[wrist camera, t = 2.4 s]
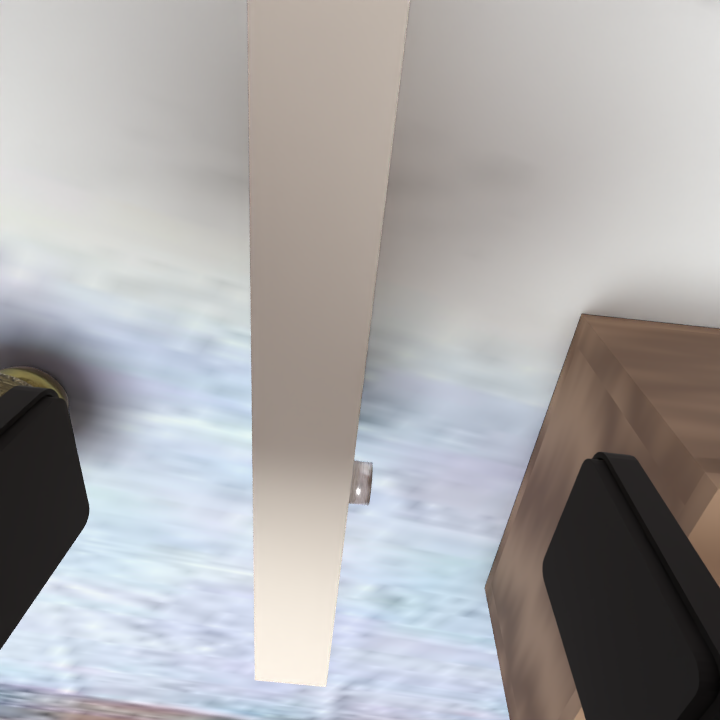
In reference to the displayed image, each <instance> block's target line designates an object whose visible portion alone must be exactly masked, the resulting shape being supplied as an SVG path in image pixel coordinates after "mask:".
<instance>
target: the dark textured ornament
mask: <svg viewBox="0 0 720 720" xmlns="http://www.w3.org/2000/svg"><path fill="white" fill-rule="evenodd" d="M19 385H23V386H32V387H41V388H49V389H53V390H55V391H56V393H57V394H58V396H59V398H62V399H64V400H65V401H66V404H67V407H68V410H69V400H68V396H67V394H66V392H65V390H64V388H63V387H62V386H61V384H60V383H59V382H58V381H57V380H56V379H54V378H53V377H52V376H51V375H49V374H47V373H46V372H44V371H41V370H39V369H36V368H33V367H28V366H14V367H8V368H5V369H1V370H0V397H1V396H2V395H4V394H5V393H6V392H7V391H8V390H10V389H11V388H13V387H15V386H19Z"/></svg>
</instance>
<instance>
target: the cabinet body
mask: <svg viewBox="0 0 720 720" xmlns="http://www.w3.org/2000/svg"><path fill="white" fill-rule="evenodd" d="M597 452H608V453H617V454H626V455H632V456H634V457H635V458H636V459H637V460H638V461H639V463H640V465H641V466H642V468H643V469H644V471H645V472H646V474H647V475H648V477H649V479H650V480H651V482H652V483H653V485H654V486H655V488H656V489H657V491H658V493H659V494H660V496H661V497H662V499H663V500H664V502H665V503H666V505H667V507H668V508H669V510H670V511H671V513H672V514H673V516H674V517H675V519H676V521H677V522H678V524H679V525H680V527H681V528H682V530H683V532H684V533H685V535H686V536H687V538H688V539H689V541H690V542H691V544H692V546H693V547H694V549H695V550H696V552H697V553H698V555H699V556H700V558H701V560H702V561H703V563H704V564H705V566H706V567H707V569H708V570H709V572H710V574H711V575H712V577H713V578H714V580H715V581H716V583H717V584H718V586H719V588H720V329H716V328H707V327H697V326H688V325H679V324H670V323H660V322H651V321H642V320H633V319H623V318H614V317H605V316H596V315H586V314H581V317H580V320H579V323H578V326H577V328H576V331H575V334H574V337H573V340H572V343H571V345H570V348H569V351H568V354H567V357H566V360H565V362H564V365H563V368H562V371H561V374H560V376H559V379H558V382H557V385H556V388H555V391H554V393H553V396H552V399H551V402H550V405H549V408H548V410H547V413H546V416H545V419H544V422H543V424H542V427H541V430H540V433H539V436H538V439H537V441H536V444H535V447H534V450H533V453H532V456H531V458H530V461H529V464H528V467H527V470H526V472H525V475H524V478H523V481H522V484H521V487H520V489H519V492H518V495H517V498H516V501H515V504H514V506H513V509H512V512H511V515H510V518H509V520H508V523H507V526H506V529H505V532H504V535H503V537H502V540H501V543H500V546H499V549H498V552H497V554H496V557H495V560H494V563H493V566H492V568H491V571H490V574H489V577H488V580H487V583H486V585H485V592H486V597H487V602H488V608H489V613H490V618H491V623H492V628H493V634H494V639H495V644H496V649H497V655H498V660H499V665H500V670H501V675H502V681H503V686H504V691H505V696H506V702H507V707H508V712H509V717H510V720H586V719H585V716H584V712H583V709H582V706H581V702H580V699H579V696H578V693H577V689H576V686H575V683H574V679H573V676H572V673H571V669H570V666H569V663H568V659H567V656H566V653H565V649H564V646H563V643H562V639H561V636H560V633H559V630H558V626H557V623H556V620H555V616H554V613H553V610H552V606H551V603H550V600H549V596H548V593H547V590H546V586H545V583H544V579H543V573H542V565H543V560H544V557H545V554H546V552H547V549H548V547H549V544H550V542H551V539H552V537H553V534H554V532H555V530H556V527H557V525H558V522H559V520H560V517H561V515H562V512H563V510H564V507H565V505H566V502H567V500H568V497H569V495H570V493H571V490H572V488H573V485H574V483H575V480H576V478H577V475H578V473H579V470H580V468H581V465H582V463H583V462H584V460H585V459H588V458H589V459H592V458H593V456H594V455H595V454H596V453H597Z"/></svg>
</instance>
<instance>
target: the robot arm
mask: <svg viewBox="0 0 720 720" xmlns="http://www.w3.org/2000/svg"><path fill="white" fill-rule="evenodd" d="M88 516H89V503H88V499H87V494H86V490H85V485H84V480H83V476H82V471H81V467H80V462H79V457H78V453H77V448H76V444H75V439H74V434H73V430H72V425H71V421H70V416H69V411H68V407H67V404H66V401H65V400H64V399H62V398H59V396H58V394H57V393H56V391H55V390H53V389H49V388H41V387H32V386H23V385H19V386H15V387H13V388H11V389H10V390H8V391H7V392H6V393H5V394H4V395H2V396H1V397H0V649H1V648H2V647H3V645H4V644H5V642H6V641H7V639H8V638H9V636H10V635H11V633H12V632H13V630H14V629H15V628H16V626H17V625H18V623H19V622H20V620H21V619H22V617H23V616H24V614H25V613H26V612H27V610H28V609H29V607H30V606H31V604H32V603H33V601H34V600H35V598H36V597H37V595H38V594H39V593H40V591H41V590H42V588H43V587H44V585H45V584H46V582H47V581H48V579H49V578H50V576H51V575H52V574H53V572H54V571H55V569H56V568H57V566H58V565H59V563H60V562H61V560H62V559H63V557H64V556H65V555H66V553H67V552H68V550H69V549H70V547H71V546H72V544H73V543H74V541H75V540H76V538H77V537H78V536H79V534H80V533H81V531H82V530H83V528H84V526H85V525H86V522H87V520H88ZM542 573H543V579H544V583H545V586H546V590H547V593H548V596H549V600H550V603H551V606H552V610H553V613H554V616H555V620H556V623H557V626H558V630H559V633H560V636H561V639H562V643H563V646H564V649H565V653H566V656H567V659H568V663H569V666H570V669H571V673H572V676H573V679H574V683H575V686H576V689H577V693H578V696H579V699H580V702H581V706H582V709H583V712H584V716H585V719H586V720H720V588H719V586H718V584H717V583H716V581H715V580H714V578H713V577H712V575H711V574H710V572H709V570H708V569H707V567H706V566H705V564H704V563H703V561H702V560H701V558H700V556H699V555H698V553H697V552H696V550H695V549H694V547H693V546H692V544H691V542H690V541H689V539H688V538H687V536H686V535H685V533H684V532H683V530H682V528H681V527H680V525H679V524H678V522H677V521H676V519H675V517H674V516H673V514H672V513H671V511H670V510H669V508H668V507H667V505H666V503H665V502H664V500H663V499H662V497H661V496H660V494H659V493H658V491H657V489H656V488H655V486H654V485H653V483H652V482H651V480H650V479H649V477H648V475H647V474H646V472H645V471H644V469H643V468H642V466H641V465H640V463H639V461H638V460H637V459H636V458H635V457H634V456H632V455H626V454H617V453H608V452H597V453H596V454H595V455H594V456H593V458H592V459H589V458H588V459H585V460H584V462H583V463H582V465H581V468H580V470H579V473H578V475H577V478H576V480H575V483H574V485H573V488H572V490H571V493H570V495H569V497H568V500H567V502H566V505H565V507H564V510H563V512H562V515H561V517H560V520H559V522H558V525H557V527H556V530H555V532H554V534H553V537H552V539H551V542H550V544H549V547H548V549H547V552H546V554H545V557H544V560H543V565H542Z"/></svg>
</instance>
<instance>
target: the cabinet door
mask: <svg viewBox="0 0 720 720" xmlns="http://www.w3.org/2000/svg"><path fill="white" fill-rule="evenodd" d="M409 6H410V0H247V18H248V107H249V196H250V286H251V375H252V464H253V554H254V643H255V680H259V681H269V682H280V683H290V684H300V685H311V686H321V687H326V684H327V676H328V668H329V659H330V651H331V643H332V635H333V627H334V619H335V610H336V602H337V594H338V586H339V578H340V570H341V561H342V553H343V545H344V537H345V529H346V521H347V512H348V504H349V503H350V504H360V505H369V501H370V494H371V484H372V470H373V463H372V462H362V461H354V455H355V447H356V439H357V431H358V423H359V414H360V406H361V398H362V390H363V382H364V374H365V365H366V357H367V349H368V341H369V333H370V325H371V316H372V308H373V300H374V292H375V284H376V276H377V267H378V259H379V251H380V243H381V235H382V227H383V218H384V210H385V202H386V194H387V186H388V178H389V169H390V161H391V153H392V145H393V137H394V129H395V120H396V112H397V104H398V96H399V88H400V80H401V71H402V63H403V55H404V47H405V39H406V31H407V22H408V14H409Z"/></svg>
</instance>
